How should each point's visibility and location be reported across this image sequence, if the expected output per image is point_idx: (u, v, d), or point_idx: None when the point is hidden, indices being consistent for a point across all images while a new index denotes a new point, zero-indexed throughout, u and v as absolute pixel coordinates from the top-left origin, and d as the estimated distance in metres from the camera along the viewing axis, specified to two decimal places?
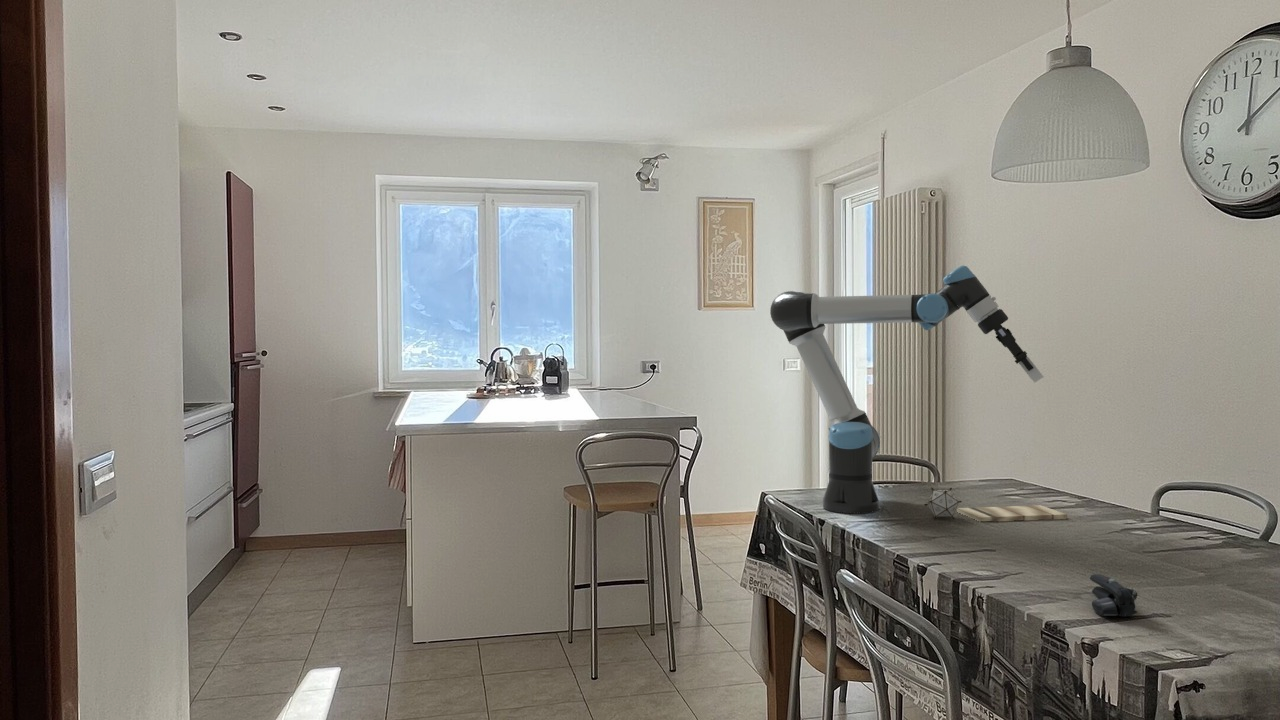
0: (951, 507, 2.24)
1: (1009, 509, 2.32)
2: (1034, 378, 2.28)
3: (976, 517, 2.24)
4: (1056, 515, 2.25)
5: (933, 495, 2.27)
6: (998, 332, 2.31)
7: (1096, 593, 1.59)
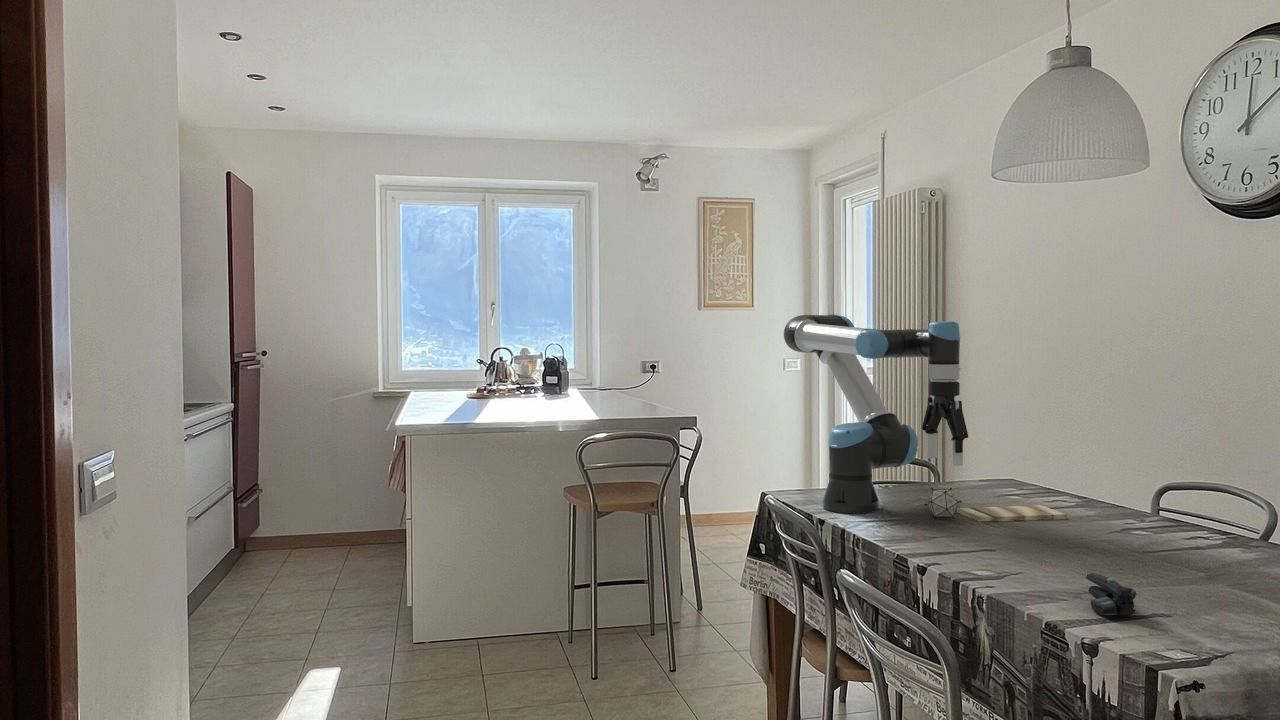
0: (951, 507, 2.24)
1: (1009, 509, 2.32)
2: (955, 462, 2.20)
3: (976, 517, 2.24)
4: (1056, 515, 2.25)
5: (933, 495, 2.27)
6: (954, 402, 2.20)
7: (1093, 592, 1.60)
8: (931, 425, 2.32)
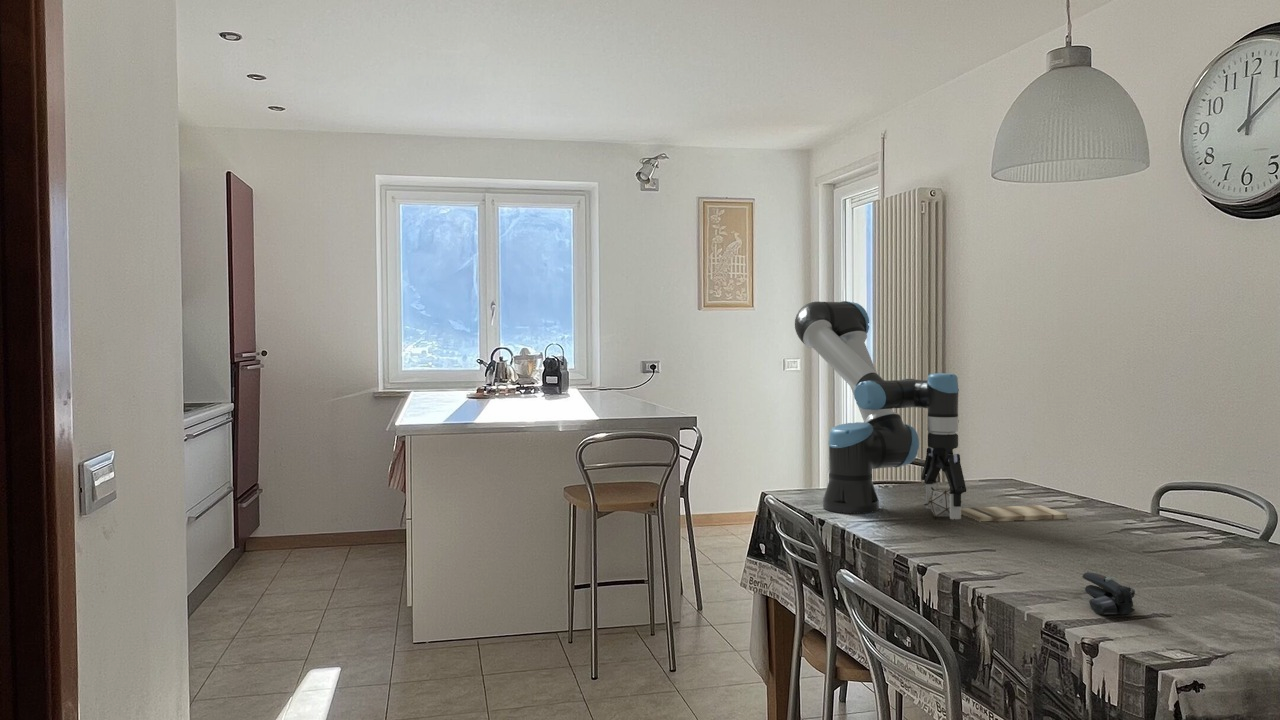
0: None
1: (1009, 509, 2.32)
2: (953, 515, 2.20)
3: (976, 517, 2.24)
4: (1056, 515, 2.25)
5: (933, 495, 2.27)
6: (952, 456, 2.20)
7: (1090, 591, 1.60)
8: (930, 476, 2.32)
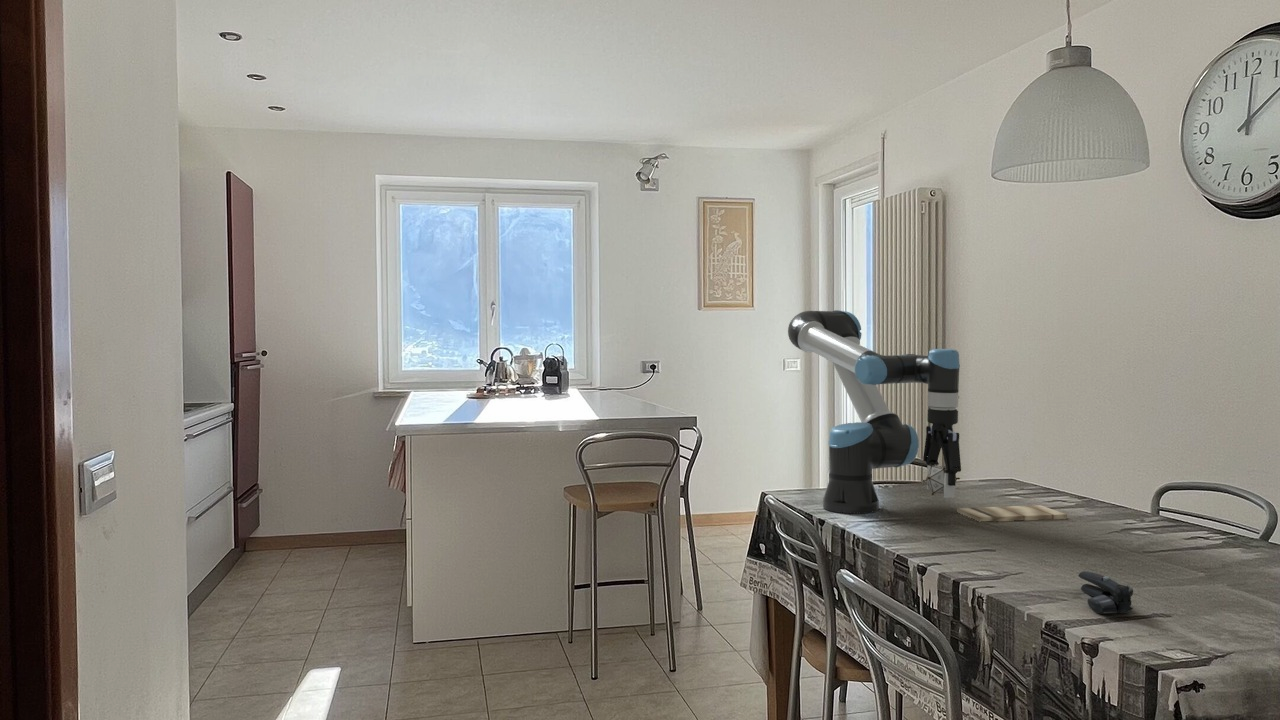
0: None
1: (1009, 509, 2.32)
2: (947, 494, 2.22)
3: (976, 517, 2.24)
4: (1056, 515, 2.25)
5: (931, 471, 2.27)
6: (952, 435, 2.20)
7: (1087, 590, 1.61)
8: (931, 455, 2.31)
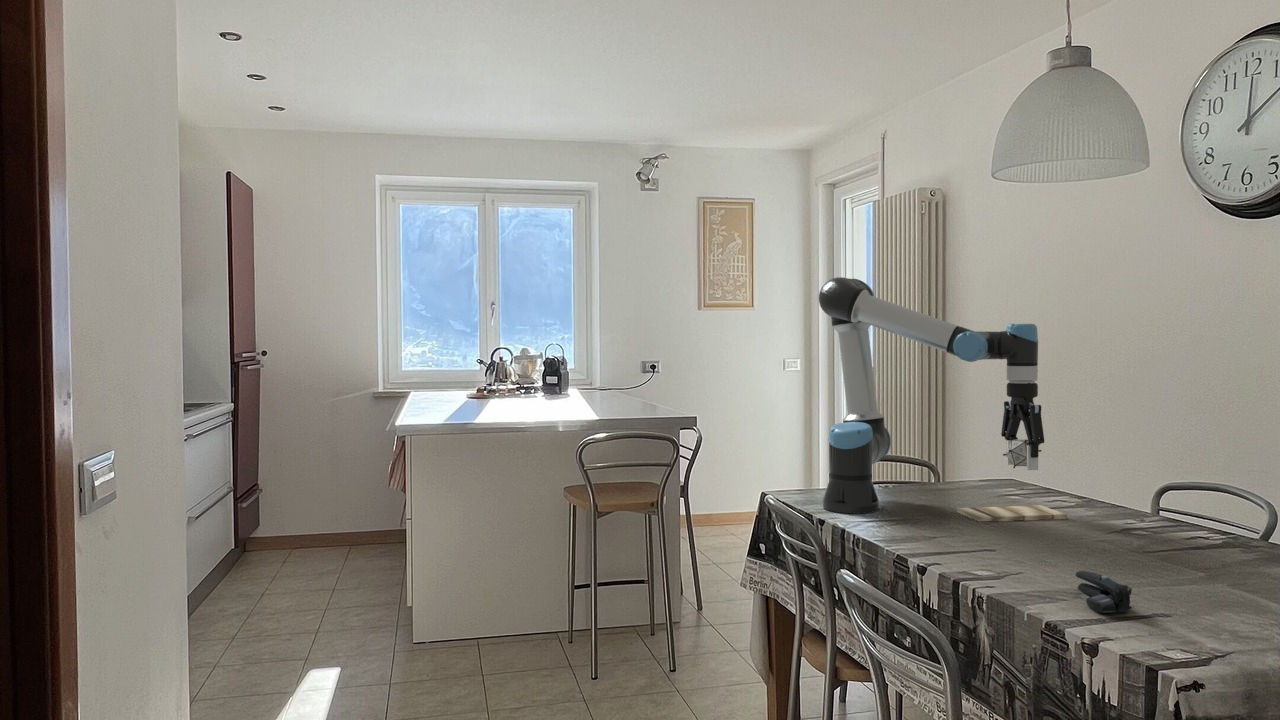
0: None
1: (1009, 509, 2.32)
2: (1030, 466, 2.24)
3: (976, 517, 2.24)
4: (1056, 515, 2.25)
5: (1012, 445, 2.29)
6: (1034, 407, 2.22)
7: (1084, 590, 1.61)
8: (1011, 430, 2.33)
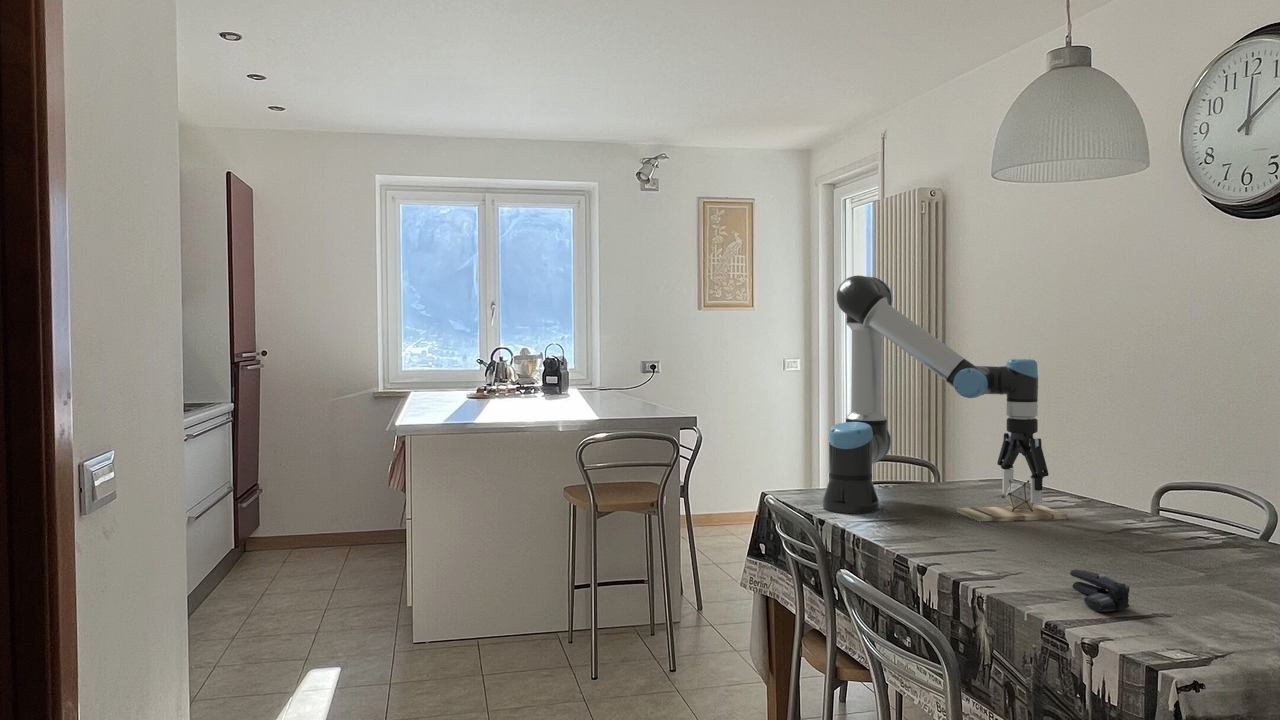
0: (1030, 499, 2.27)
1: (1009, 509, 2.32)
2: (1034, 499, 2.23)
3: (976, 517, 2.24)
4: (1056, 515, 2.25)
5: (1011, 487, 2.30)
6: (1034, 440, 2.22)
7: (1079, 588, 1.62)
8: (1007, 461, 2.35)
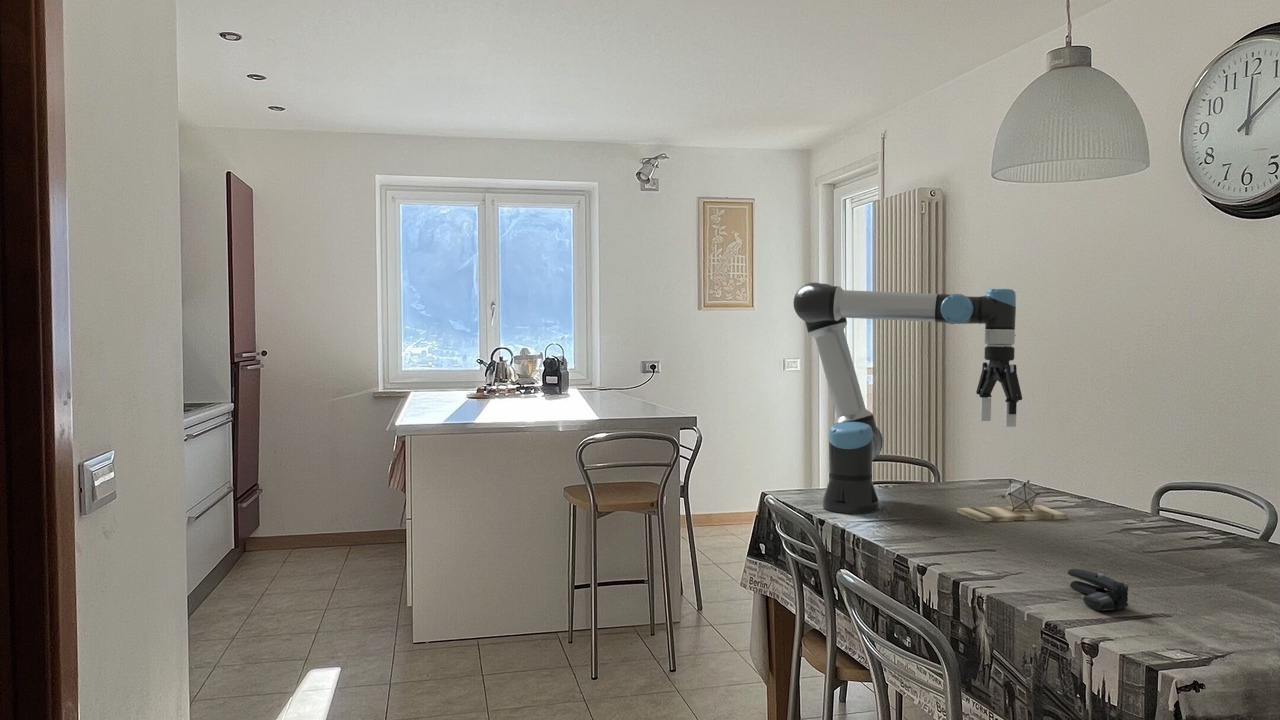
0: (1030, 499, 2.27)
1: (1009, 509, 2.32)
2: (1008, 423, 2.30)
3: (976, 517, 2.24)
4: (1056, 515, 2.25)
5: (1011, 487, 2.30)
6: (1009, 366, 2.29)
7: (1077, 587, 1.63)
8: (985, 389, 2.42)
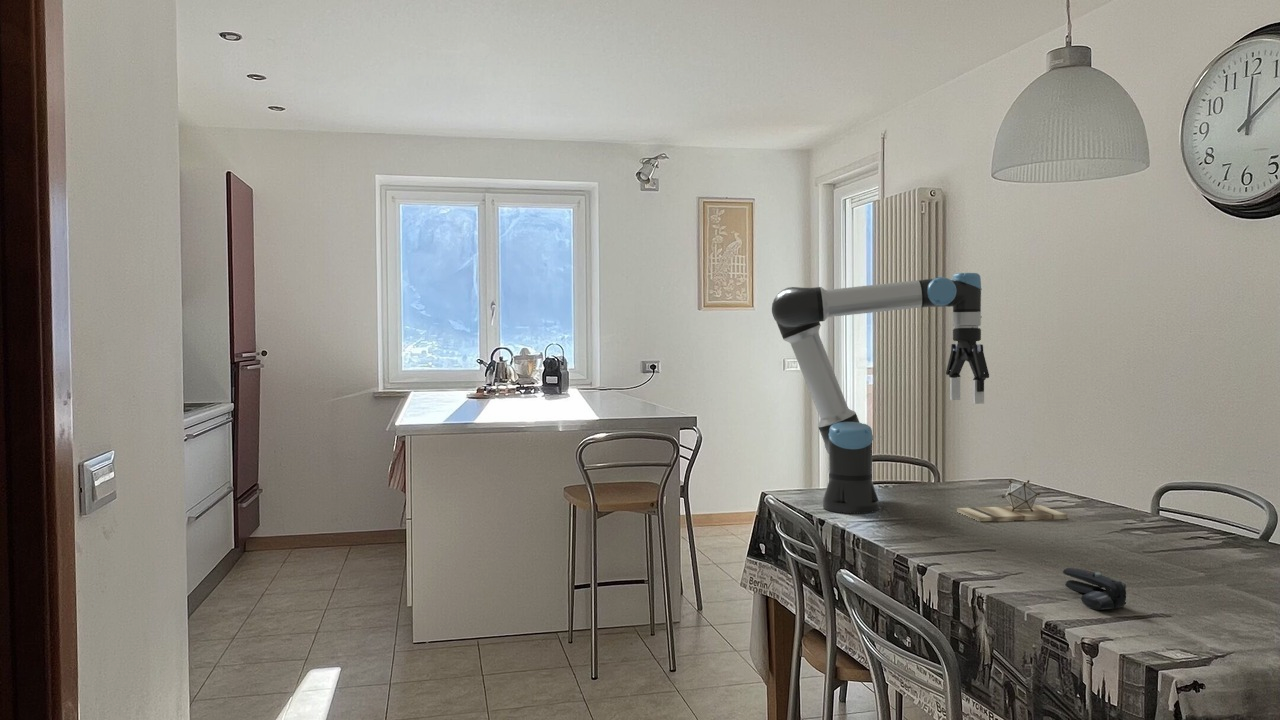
0: (1030, 499, 2.27)
1: (1009, 509, 2.32)
2: (976, 400, 2.41)
3: (976, 517, 2.24)
4: (1056, 515, 2.25)
5: (1011, 487, 2.30)
6: (976, 346, 2.41)
7: (1073, 587, 1.63)
8: (954, 369, 2.53)
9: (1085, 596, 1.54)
